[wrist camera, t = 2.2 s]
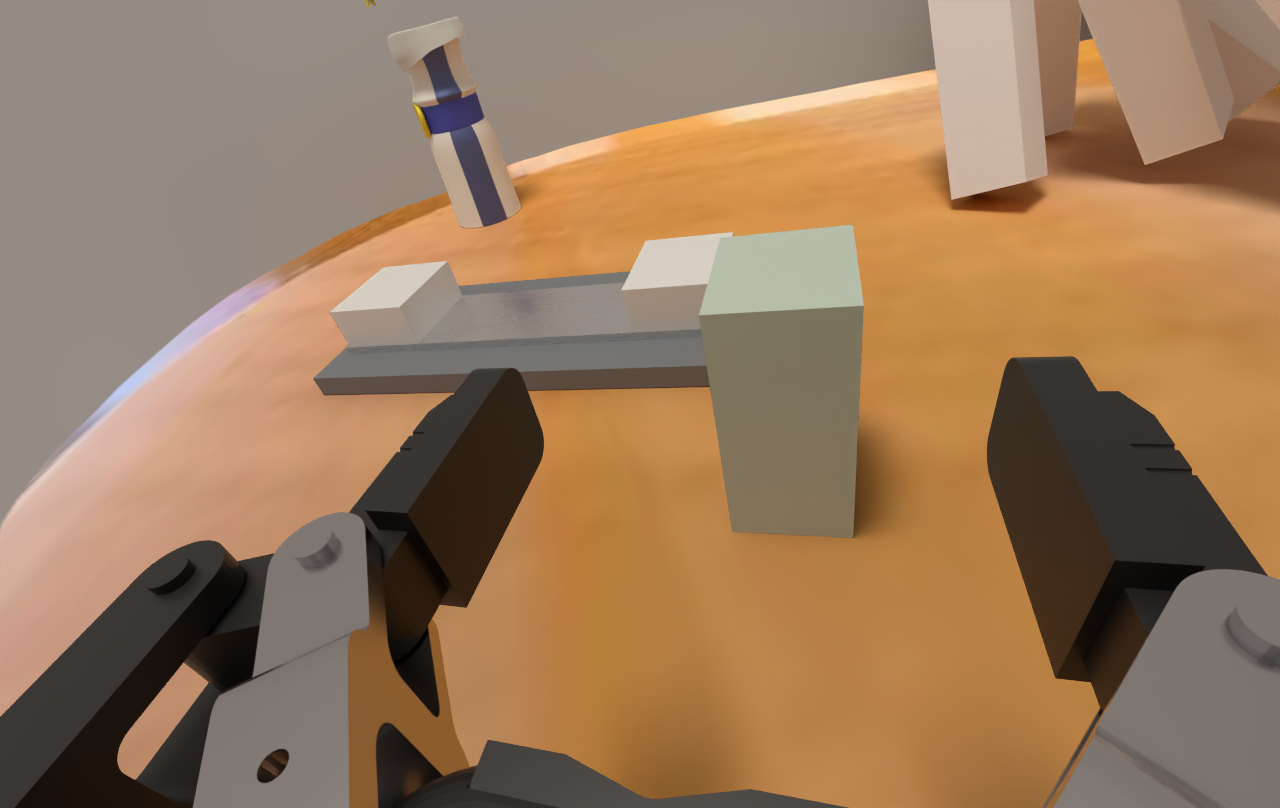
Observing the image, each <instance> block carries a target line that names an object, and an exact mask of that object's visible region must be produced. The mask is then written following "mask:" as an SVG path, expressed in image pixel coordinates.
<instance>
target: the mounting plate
mask: <svg viewBox="0 0 1280 808" xmlns="http://www.w3.org/2000/svg"><path fill="white" fill-rule="evenodd" d="M624 284H625V283H612V284H600V285H587V286H575V287H562V288H549V289H537V290H524V291H512V292H499V293H487V294H474V295H462V296H461V298H460V299H459V300H458V301H457V302H456V303H455V304H454V305H453V306H452V307H451V309H450V310H449V311H448V312H447V313H446V314H445V315H444V316H443V317H442V318H441V319H440V321H439V322H438V323H437V324H436V325H435V326H434V327H433V328H432V329H431V330H430V332H429V333H428V334H427V335H426V336H425V337H424V338H423V339H422V340H421V341H420V343H419V344H406V345H386V346H367V347H350V346H349V344H348V345H347V346H346V347H345V348H346V350H347V352H348V353H349V354H366V353H386V352H407V351H428V350H449V349H470V348H491V347H512V346H533V345H554V344H575V343H596V342H617V341H638V340H659V339H680V338H701V337H702V332H701V329H694V330H674V331H655V332H636V333H631V329H630V325H629V321H628V317H627V312H626V308H625V304H624V300H623V296H622V292H621V290H622V288H623V286H624Z"/></svg>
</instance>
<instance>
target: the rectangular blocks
mask: <svg viewBox="0 0 1280 808" xmlns="http://www.w3.org/2000/svg"><path fill="white" fill-rule="evenodd" d="M724 237H734V235H733V232H729V233H720V234H710V235H700V236H690V237H680V238H670V239H660V240H650V241H646V242H645V244H644V246H643V248H642V250H641V252H640V254H639V256H638V258H637V260H636V262H635V264H634V266H633V268H632V270H631V272H630V274H629V276H628V278H627V280H626V282H625V284H624V286H623V288H622V290H621V292H622V296H623V300H624V304H625V308H626V312H627V317H628V321H629V325H630V329H631V333H636V332H655V331H674V330H694V329H701V326H700V319H699V313H700V309H701V306H702V302H703V299H704V295H705V291H706V288H707V284H708V281H709V277H710V273H711V270H712V266H713V263H714V259H715V255H716V252H717V248H718V245H719V241H720V238H724ZM461 296H462V293H461V291H460V289H459V286H458V284H457V282H456V279H455V277H454V275H453V272H452V270H451V268H450V266H449V263H448V261H442V262H432V263H423V264H413V265H403V266H393V267H384V268H382V269H381V270H380V271H379V272H378V273H376V274H375V275H374V276H373V277H371V278H370V279H369V280H368V281H367V282H365V283H364V284H363V285H362V286H361V287H359V288H358V289H357V290H356V291H355V292H353V293H352V294H351V295H350V296H349V297H347V298H346V299H345V300H344V301H343V302H341V303H340V304H339V305H338V306H336V307H335V308H334V309H333V310H332V311H330V314H331V316H332V317H333V319H334V321H335V322H336V324H337V326H338V327H339V329H340V331H341V332H342V334H343V336H344V337H345V339H346V341H347V342H348V344H349V346H350V347H367V346H386V345H406V344H419V343H420V341H421V340H422V339H423V338H424V337H425V336H426V335H427V334H428V333H429V332H430V330H431V329H432V328H433V327H434V326H435V325H436V324H437V323H438V322H439V321H440V319H441V318H442V317H443V316H444V315H445V314H446V313H447V312H448V311H449V310H450V309H451V307H452V306H453V305H454V304H455V303H456V302H457V301H458V300H459V299H460V298H461Z"/></svg>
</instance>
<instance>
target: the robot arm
mask: <svg viewBox="0 0 1280 808" xmlns="http://www.w3.org/2000/svg"><path fill="white" fill-rule="evenodd" d="M1174 446H1175V444H1174V443H1173V441H1172V440H1171V438H1170V437H1169V435H1168V434H1167V433H1166V431H1165V430H1164V428H1163V427H1162V426H1161V424H1160V423H1159V421H1158V420H1157V418H1156V417H1155V416H1154V415H1153V414H1151V413H1150V412H1149V411H1147V410H1146V409H1144V408H1143V407H1141V406H1140V405H1138V404H1137V403H1135V402H1134V401H1132V400H1131V399H1129V398H1128V397H1127V396H1125V395H1124V394H1122V393H1121V392H1119V391H1097V390H1096V388H1095V386H1094V385H1093V383H1092V382H1091V380H1090V378H1089V377H1088V375H1087V373H1086V372H1085V370H1084V369H1083V367H1082V365H1081V364H1080V362H1079V361H1078V360H1077V359H1076V358H1075V357H1072V356H1068V357H1023V358H1011V359H1010V360H1009V361H1008V363H1007V365H1006V367H1005V370H1004V374H1003V378H1002V382H1001V386H1000V390H999V394H998V399H997V403H996V407H995V411H994V415H993V419H992V423H991V428H990V432H989V436H988V443H987V463H988V471H989V475H990V479H991V482H992V485H993V488H994V491H995V494H996V497H997V500H998V503H999V507H1000V510H1001V513H1002V516H1003V519H1004V522H1005V525H1006V528H1007V531H1008V534H1009V537H1010V540H1011V543H1012V546H1013V549H1014V552H1015V556H1016V559H1017V562H1018V565H1019V568H1020V571H1021V574H1022V577H1023V580H1024V583H1025V586H1026V589H1027V592H1028V595H1029V598H1030V602H1031V605H1032V608H1033V611H1034V614H1035V617H1036V620H1037V623H1038V626H1039V629H1040V632H1041V635H1042V638H1043V641H1044V644H1045V647H1046V651H1047V654H1048V657H1049V660H1050V663H1051V666H1052V669H1053V672H1054V675H1055V678H1058V679H1067V680H1075V681H1084V682H1091V684H1092V686H1093V689H1094V692H1095V695H1096V697H1097V700H1098V703H1099V705H1100V709H1099V710H1098V712H1097V714H1096V715H1095V717H1094V718H1093V720H1092V722H1091V724H1090V725H1089V727H1088V729H1087V731H1086V732H1085V734H1084V736H1083V737H1082V739H1081V741H1080V743H1079V744H1078V746H1077V748H1076V750H1075V751H1074V753H1073V755H1072V756H1071V758H1070V760H1069V762H1068V763H1067V765H1066V767H1065V768H1064V770H1063V772H1062V774H1061V775H1060V777H1059V779H1058V781H1057V782H1056V784H1055V786H1054V787H1053V789H1052V791H1051V793H1050V794H1049V796H1048V798H1047V799H1046V801H1045V803H1044V805H1043V806H1042V808H1280V580H1278V579H1276V578H1272V577H1269V576H1268V575H1267V574H1266V573H1265V571H1264V570H1263V569H1262V567H1261V566H1260V564H1259V563H1258V561H1257V560H1256V559H1255V557H1254V556H1253V554H1252V553H1251V552H1250V550H1249V549H1248V547H1247V546H1246V544H1245V543H1244V542H1243V540H1242V539H1241V537H1240V536H1239V535H1238V533H1237V532H1236V530H1235V529H1234V527H1233V526H1232V525H1231V523H1230V522H1229V520H1228V519H1227V518H1226V516H1225V515H1224V513H1223V512H1222V510H1221V509H1220V508H1219V506H1218V505H1217V503H1216V502H1215V501H1214V499H1213V498H1212V496H1211V495H1210V493H1209V492H1208V491H1207V489H1206V488H1205V486H1204V485H1203V484H1202V482H1201V481H1200V479H1199V478H1198V477H1197V475H1192V468H1191V467H1190V465H1189V464H1188V462H1187V461H1186V460H1185V458H1184V457H1183V455H1182V454H1181V452H1180V451H1179V450H1175V449H1174ZM543 449H544V437H543V432H542V428H541V426H540V423H539V420H538V418H537V415H536V412H535V410H534V407H533V404H532V402H531V399H530V396H529V393H528V391H527V388H526V385H525V383H524V380H523V378H522V375H521V374H520V372H519V371H518V370H517V369H515V368H481V369H475V370H473V371H472V372H471V373H470V374H469V375H468V377H467V378H466V379H465V380H464V382H463V383H462V384H461V386H460V387H459V388H458V390H457V391H456V392H455V393H454V395H451V396H449V397H448V398H447V399H445V400H444V401H443V402H441V403H440V404H439V405H437V406H436V407H435V408H433V409H432V410H431V411H429V412H428V413H427V415H426V416H425V417H424V418H423V420H422V421H421V422H420V423H419V425H418V426H417V427H416V429H415V430H414V431H413V436H409V437H408V439H407V440H406V441H405V442H404V444H403V445H402V446H401V447H400V452H397V453H396V454H395V455H394V456H393V458H392V459H391V460H390V461H389V463H388V464H387V465H386V466H385V468H384V469H383V470H382V471H381V473H380V474H379V475H378V477H377V478H376V479H375V480H374V482H373V483H372V484H371V485H370V487H369V488H368V489H367V490H366V492H365V493H364V494H363V495H362V497H361V498H360V499H359V500H358V502H357V503H356V504H355V506H354V507H353V508H352V509H351V511H350V512H349V513H343V512H341V513H334V514H330V515H326V516H323V517H320V518H318V519H316V520H314V521H311V522H310V523H308V524H306V525H304V526H303V527H301V528H300V529H298V530H297V531H296V532H294V533H293V534H292V535H291V536H289V537H288V538H287V539H286V540H285V541H284V542H283V543H282V544H281V546H280V547H279V548H278V549H277V551H276V552H275V553H274V554H269V555H264V556H260V557H255V558H251V559H246V560H242V561H236V559H235V558H234V557H233V556H232V555H231V554H230V553H229V552H228V551H227V550H226V549H225V548H224V547H223V546H222V545H221V544H220V543H218V542H215V541H210V540H207V541H199V542H194V543H191V544H188V545H185V546H183V547H180V548H178V549H176V550H174V551H172V552H170V553H169V554H167V555H165V556H164V557H162V558H160V559H159V560H158V561H156V562H155V563H153V564H152V565H151V566H150V567H148V568H147V569H146V570H145V571H144V572H143V573H142V574H141V575H139V576H138V577H137V578H136V579H135V580H134V581H133V582H132V583H131V584H130V586H129V587H128V588H127V589H126V590H125V591H124V592H123V593H122V594H121V595H120V596H119V597H118V598H117V599H116V600H115V601H114V602H113V603H112V604H111V605H110V606H109V607H108V608H107V609H106V610H105V611H104V612H103V613H102V614H101V615H100V616H99V617H98V618H97V619H96V620H95V621H94V622H93V623H92V624H91V625H90V626H89V627H88V628H87V629H86V630H85V631H84V632H83V633H82V634H81V635H80V636H79V637H78V638H77V639H76V640H75V641H74V643H73V644H72V645H71V646H70V647H69V648H68V649H67V650H66V651H65V652H64V653H63V654H62V655H61V656H60V657H59V658H58V659H57V660H56V661H55V662H54V663H53V664H52V665H51V666H50V667H49V668H48V669H47V670H46V671H45V672H44V673H43V674H42V675H41V676H40V677H39V678H38V679H37V680H36V681H35V682H34V683H33V684H32V685H31V686H30V687H29V688H28V689H27V690H26V691H25V692H24V693H23V694H22V695H21V696H20V697H19V698H18V700H17V701H16V702H15V703H14V704H13V705H12V706H11V707H10V708H9V709H8V710H7V711H6V712H5V713H4V714H3V715H2V716H1V717H0V808H847V807H842V806H836V805H831V804H826V803H821V802H815V801H810V800H805V799H799V798H794V797H789V796H783V795H778V794H773V793H768V792H762V791H757V790H752V789H748V790H739V791H730V792H720V793H711V794H702V795H692V796H683V797H674V798H664V799H649V798H644V797H642V796H640V795H638V794H636V793H634V792H632V791H631V790H629V789H627V788H625V787H623V786H622V785H620V784H618V783H616V782H614V781H613V780H611V779H609V778H607V777H605V776H604V775H602V774H600V773H598V772H596V771H595V770H593V769H591V768H589V767H587V766H586V765H584V764H582V763H580V762H578V761H577V760H575V759H573V758H571V757H569V756H568V755H566V754H561V753H556V752H550V751H545V750H540V749H534V748H529V747H524V746H518V745H513V744H508V743H503V742H497V741H492V740H488V741H487V743H486V746H485V748H484V751H483V753H482V756H481V758H480V761H479V763H478V765H477V766H472V767H469V764H468V761H467V758H466V756H465V753H464V751H463V749H462V747H461V745H460V743H459V740H458V738H457V735H456V732H455V729H454V725H453V720H452V714H451V708H450V701H449V695H448V689H447V683H446V677H445V671H444V664H443V658H442V652H441V646H440V640H439V634H438V629H437V625H436V624H435V622H434V620H433V619H432V617H433V616H434V614H435V612H436V610H437V608H438V606H439V605H448V606H456V607H465V608H467V606H468V604H469V602H470V600H471V598H472V596H473V594H474V592H475V590H476V588H477V586H478V584H479V582H480V580H481V578H482V576H483V574H484V572H485V570H486V568H487V566H488V564H489V562H490V560H491V558H492V556H493V555H494V553H495V551H496V549H497V547H498V545H499V543H500V541H501V539H502V537H503V535H504V533H505V531H506V529H507V527H508V525H509V523H510V521H511V519H512V517H513V515H514V513H515V511H516V509H517V507H518V505H519V503H520V501H521V499H522V497H523V495H524V493H525V492H526V490H527V488H528V486H529V484H530V482H531V480H532V478H533V476H534V474H535V472H536V470H537V468H538V466H539V464H540V462H541V459H542V455H543ZM183 662H184V663H185V664H186V665H188V666H189V667H190V668H192V669H193V670H194V671H195V672H197V673H198V674H199V675H200V676H202V677H203V678H204V679H205V680H207V681H208V682H209V683H208V685H207V686H206V687H205V689H204V690H203V691H202V693H201V694H200V695H199V697H198V698H197V699H196V701H195V702H194V703H193V705H192V706H191V707H190V709H189V710H188V711H187V713H186V714H185V715H184V717H183V718H182V719H181V721H180V722H179V723H178V725H177V726H176V727H175V729H174V730H173V731H172V733H171V734H170V735H169V737H168V738H167V739H166V741H165V742H164V743H163V745H162V746H161V747H160V749H159V750H158V752H157V753H156V754H155V756H154V757H153V758H152V760H151V761H150V762H149V764H148V765H147V766H146V768H145V769H144V770H143V772H142V773H141V774H140V775H139V777H138V778H137V779H136V780H134V779H132V778H130V777H128V776H127V775H125V774H123V773H122V772H121V770H120V769H119V767H118V763H117V755H118V750H119V747H120V744H121V742H122V740H123V738H124V737H125V735H126V734H127V732H128V731H129V729H130V728H131V727H132V726H133V724H134V723H135V722H136V721H137V719H138V718H139V717H140V716H141V715H142V713H143V712H144V711H145V710H146V708H147V707H148V706H149V705H150V703H151V702H152V701H153V700H154V698H155V697H156V696H157V695H158V693H159V692H160V691H161V690H162V688H163V687H164V686H165V685H166V683H167V682H168V681H169V680H170V678H171V677H172V676H173V675H174V673H175V672H176V671H177V670H178V668H179V667H180V666H181V665H182V663H183Z"/></svg>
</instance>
